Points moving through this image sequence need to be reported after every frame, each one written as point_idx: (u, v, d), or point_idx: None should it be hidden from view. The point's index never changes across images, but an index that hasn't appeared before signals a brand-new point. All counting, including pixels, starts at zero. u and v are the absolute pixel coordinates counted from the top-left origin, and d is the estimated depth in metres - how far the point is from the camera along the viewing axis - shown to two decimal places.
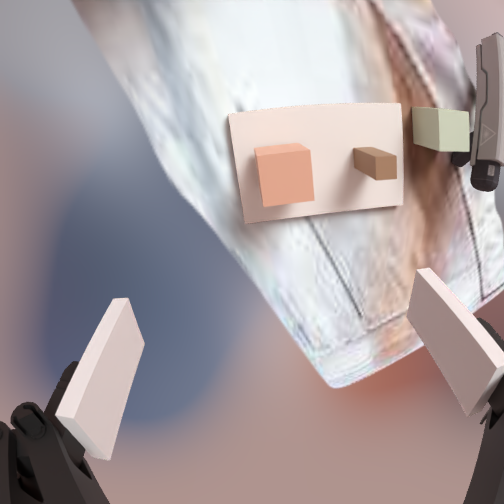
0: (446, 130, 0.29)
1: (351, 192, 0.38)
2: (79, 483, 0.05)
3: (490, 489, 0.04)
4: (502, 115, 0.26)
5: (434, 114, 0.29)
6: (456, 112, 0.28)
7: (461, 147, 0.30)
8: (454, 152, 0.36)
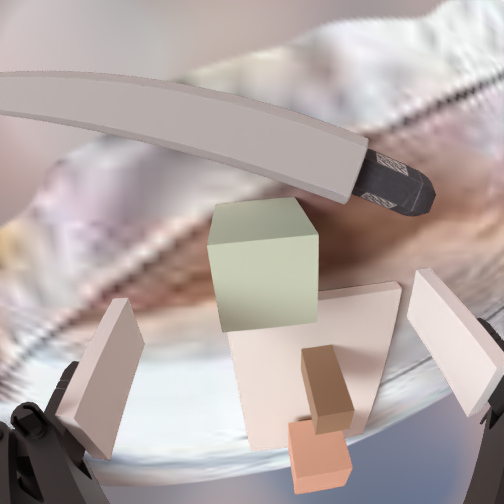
0: (268, 312, 0.16)
1: (362, 363, 0.26)
2: (79, 483, 0.05)
3: (490, 489, 0.04)
4: (178, 141, 0.10)
5: None
6: (218, 285, 0.15)
7: (308, 264, 0.15)
8: None
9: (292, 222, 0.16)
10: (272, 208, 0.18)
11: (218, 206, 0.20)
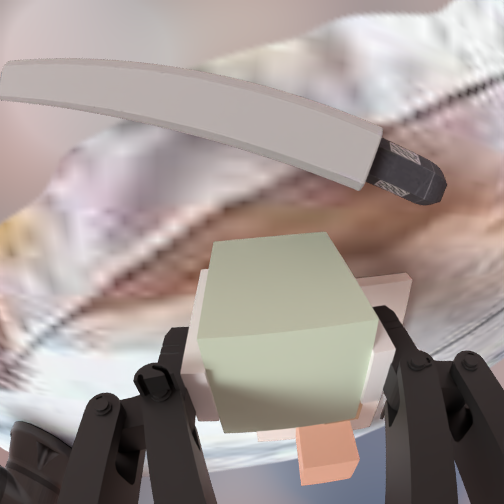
0: (291, 413, 0.10)
1: None
2: (195, 456, 0.06)
3: (404, 495, 0.05)
4: (197, 126, 0.11)
5: None
6: (217, 388, 0.09)
7: (356, 358, 0.09)
8: None
9: (333, 288, 0.10)
10: (298, 255, 0.12)
11: (216, 247, 0.14)
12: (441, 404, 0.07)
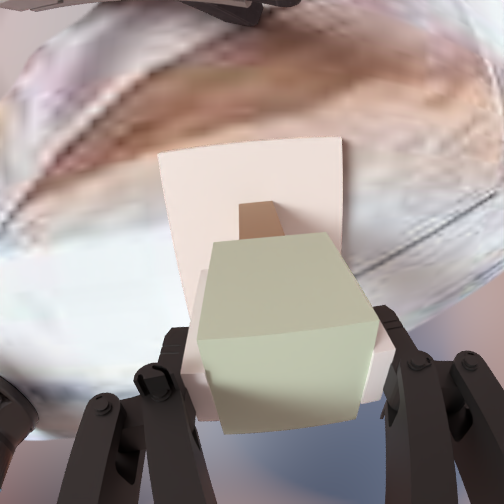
0: (291, 415, 0.10)
1: None
2: (195, 456, 0.06)
3: (404, 496, 0.05)
4: None
5: None
6: (217, 389, 0.09)
7: (357, 359, 0.09)
8: (234, 22, 0.18)
9: (333, 289, 0.10)
10: (298, 256, 0.12)
11: (216, 247, 0.14)
12: (441, 404, 0.07)
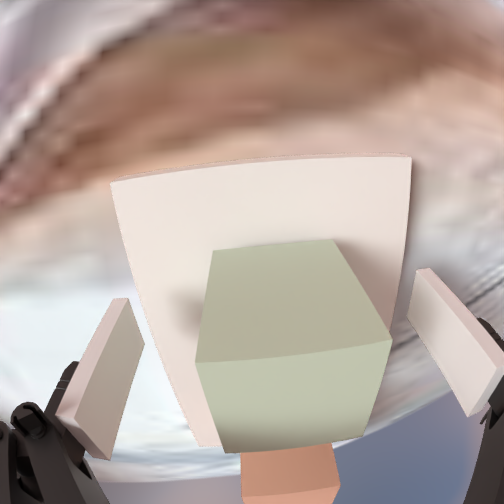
0: (296, 434, 0.09)
1: None
2: (79, 483, 0.05)
3: (490, 489, 0.04)
4: None
5: None
6: (218, 411, 0.08)
7: (367, 380, 0.08)
8: None
9: (342, 304, 0.09)
10: (303, 266, 0.11)
11: (216, 256, 0.13)
12: None
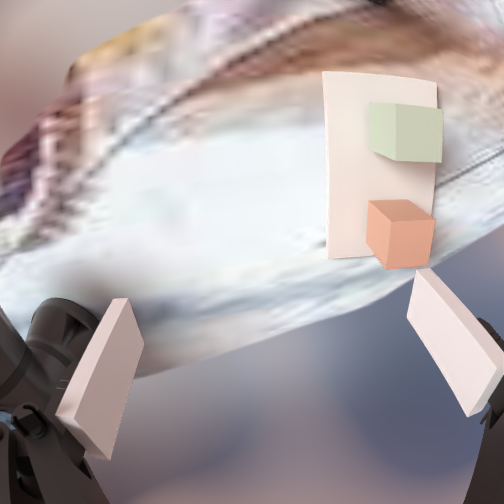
0: (420, 150, 0.24)
1: None
2: (79, 483, 0.05)
3: (490, 489, 0.04)
4: None
5: None
6: (398, 128, 0.23)
7: (438, 124, 0.23)
8: None
9: None
10: None
11: None
12: None
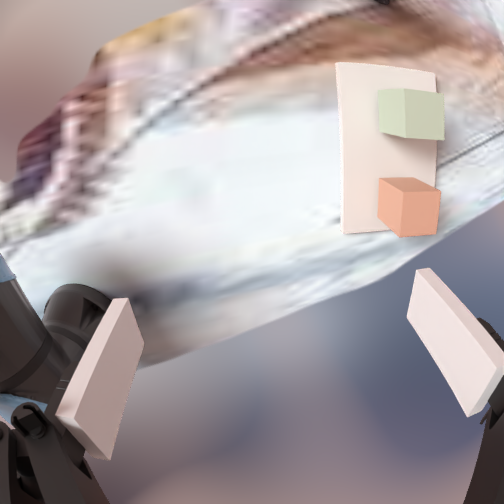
0: (425, 128, 0.26)
1: None
2: (79, 483, 0.05)
3: (490, 489, 0.04)
4: None
5: None
6: (407, 109, 0.26)
7: (440, 106, 0.25)
8: (376, 0, 0.26)
9: None
10: None
11: (381, 90, 0.30)
12: None
